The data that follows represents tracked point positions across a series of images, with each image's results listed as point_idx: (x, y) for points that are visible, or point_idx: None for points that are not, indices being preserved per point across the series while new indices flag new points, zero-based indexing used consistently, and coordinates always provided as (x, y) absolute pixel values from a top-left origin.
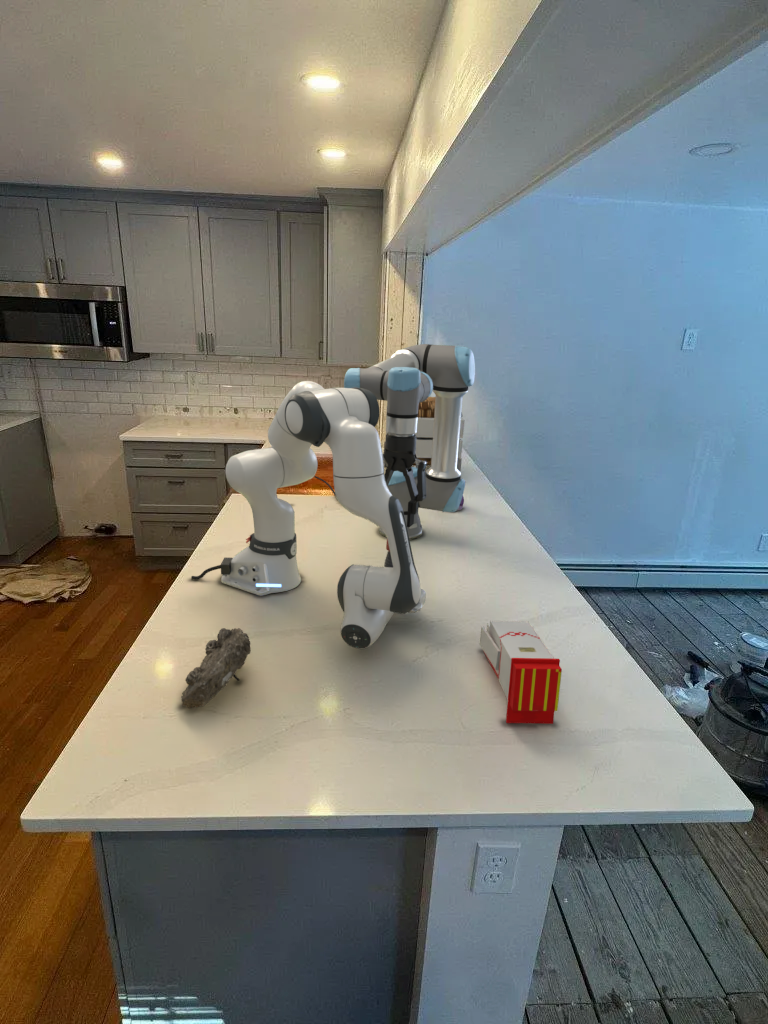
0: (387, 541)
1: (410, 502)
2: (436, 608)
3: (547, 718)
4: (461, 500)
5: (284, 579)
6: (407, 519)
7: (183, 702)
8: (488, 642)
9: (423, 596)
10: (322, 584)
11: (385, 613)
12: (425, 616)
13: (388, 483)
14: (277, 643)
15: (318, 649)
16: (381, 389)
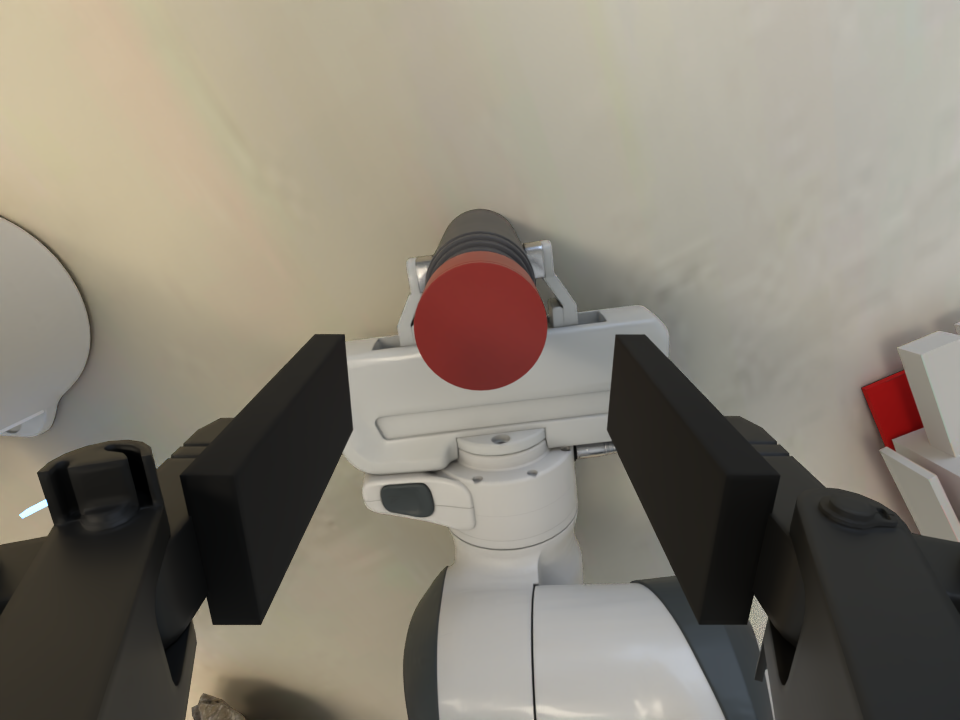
0: (439, 376)
1: (735, 618)
2: (654, 189)
3: None
4: None
5: (40, 375)
6: (628, 469)
7: None
8: (946, 536)
9: None
10: (150, 239)
11: (573, 548)
12: (630, 271)
13: (108, 697)
14: (298, 600)
15: (408, 577)
16: None
